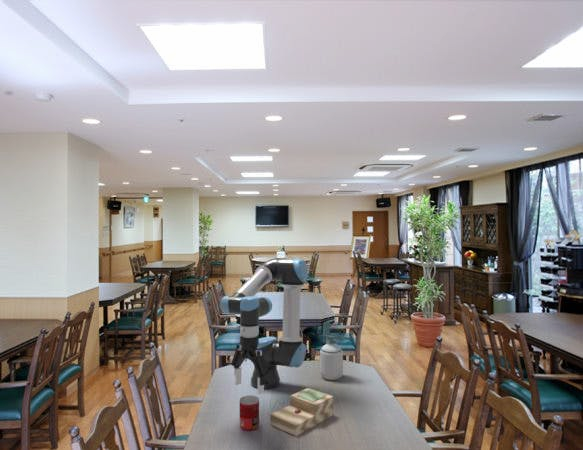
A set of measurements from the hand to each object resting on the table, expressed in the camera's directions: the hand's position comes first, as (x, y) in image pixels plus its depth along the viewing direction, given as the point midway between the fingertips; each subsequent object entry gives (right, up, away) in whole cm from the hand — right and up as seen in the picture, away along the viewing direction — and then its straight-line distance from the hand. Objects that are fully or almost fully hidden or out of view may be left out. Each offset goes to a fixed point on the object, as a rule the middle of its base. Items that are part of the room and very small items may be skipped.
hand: (249, 388), depth 162 cm
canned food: (0, -16, 0) cm, 16 cm away
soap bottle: (+39, -16, +54) cm, 68 cm away
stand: (+22, -15, +6) cm, 27 cm away
